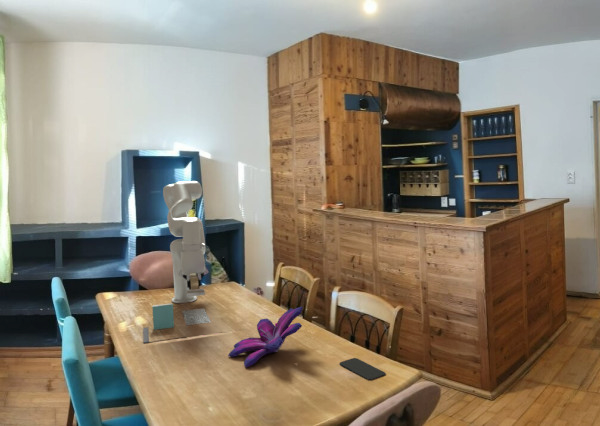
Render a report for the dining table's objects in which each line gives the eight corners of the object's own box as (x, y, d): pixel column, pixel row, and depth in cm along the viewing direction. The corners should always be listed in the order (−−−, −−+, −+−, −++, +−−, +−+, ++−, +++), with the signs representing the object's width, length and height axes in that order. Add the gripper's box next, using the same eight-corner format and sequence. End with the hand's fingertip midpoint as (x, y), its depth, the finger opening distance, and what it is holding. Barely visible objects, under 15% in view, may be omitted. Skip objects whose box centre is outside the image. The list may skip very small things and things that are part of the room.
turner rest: (182, 313, 207) (182, 311, 207) (204, 310, 211) (203, 308, 211) (186, 327, 187) (186, 325, 187) (210, 324, 190) (210, 322, 190)
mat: (143, 328, 187) (143, 327, 187) (182, 323, 192) (182, 322, 192) (143, 343, 170) (143, 342, 170) (186, 337, 175) (186, 336, 175)
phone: (369, 379, 133) (337, 362, 145) (369, 382, 133) (337, 365, 146) (387, 373, 137) (355, 357, 149) (387, 376, 137) (355, 359, 150)
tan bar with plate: (184, 286, 205) (183, 273, 204) (200, 284, 207) (199, 271, 206) (188, 296, 188) (187, 282, 187) (205, 294, 190) (204, 281, 189)
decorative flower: (247, 393, 139) (231, 366, 138) (233, 362, 168) (220, 340, 167) (329, 339, 147) (315, 313, 145) (302, 319, 176) (290, 297, 175)
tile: (153, 329, 184) (152, 305, 184) (173, 326, 187) (172, 303, 186) (153, 330, 182) (152, 306, 182) (174, 328, 185) (172, 304, 184)
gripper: (209, 244, 203) (211, 284, 204) (172, 247, 197) (174, 288, 199) (212, 247, 196) (214, 288, 197) (173, 250, 190) (175, 292, 192)
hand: (194, 288), depth 198 cm, fingers closed on tan bar with plate, 3 cm apart
